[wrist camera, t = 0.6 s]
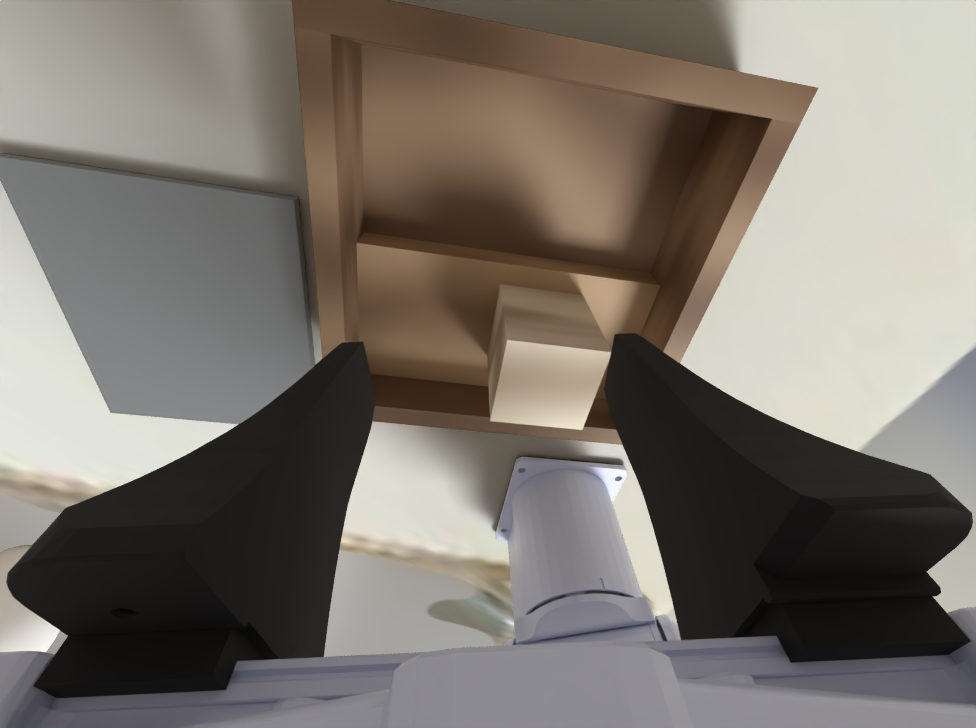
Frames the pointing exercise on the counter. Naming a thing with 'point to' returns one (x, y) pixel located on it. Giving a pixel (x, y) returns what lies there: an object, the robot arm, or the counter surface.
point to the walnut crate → (516, 191)
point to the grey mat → (171, 285)
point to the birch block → (544, 358)
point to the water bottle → (20, 614)
